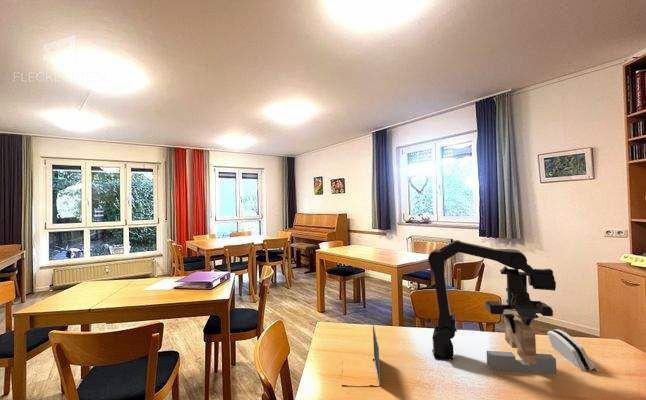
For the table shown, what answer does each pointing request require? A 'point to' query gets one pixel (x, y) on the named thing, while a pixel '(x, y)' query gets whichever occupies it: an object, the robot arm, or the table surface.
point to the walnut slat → (522, 340)
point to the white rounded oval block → (570, 349)
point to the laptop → (376, 354)
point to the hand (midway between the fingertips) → (518, 333)
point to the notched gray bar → (520, 363)
